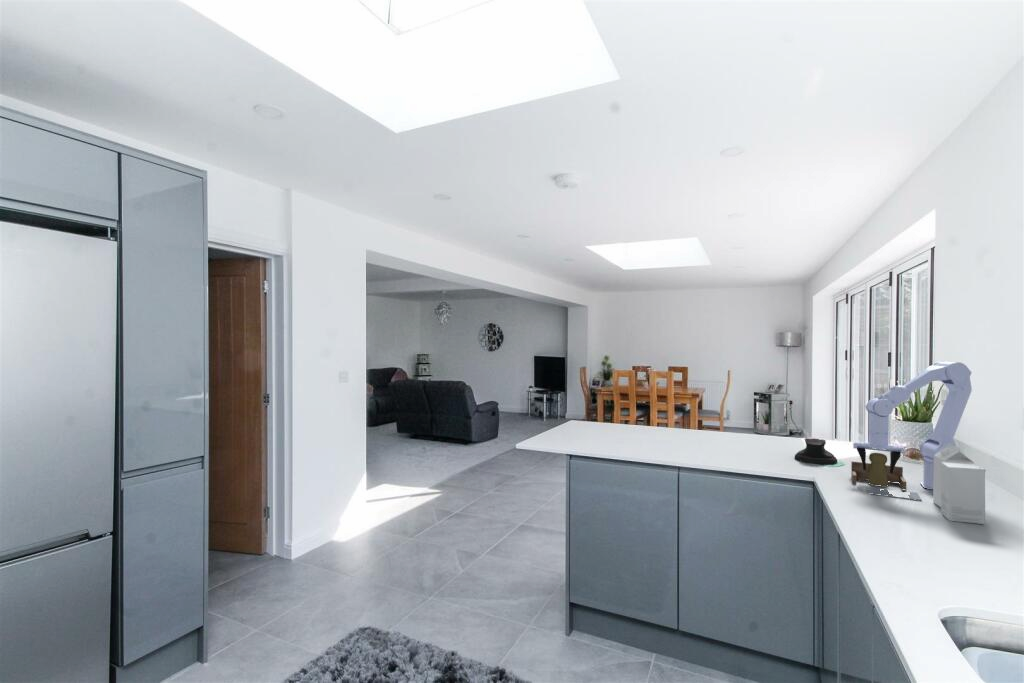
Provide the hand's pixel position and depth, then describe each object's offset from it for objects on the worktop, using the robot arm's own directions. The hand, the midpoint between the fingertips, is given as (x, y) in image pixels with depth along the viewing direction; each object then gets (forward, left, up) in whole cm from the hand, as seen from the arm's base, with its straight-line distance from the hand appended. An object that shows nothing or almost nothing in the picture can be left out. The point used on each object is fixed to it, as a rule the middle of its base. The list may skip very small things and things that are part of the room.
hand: (877, 470), depth 176 cm
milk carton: (-17, +18, -5) cm, 25 cm away
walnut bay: (0, -1, -5) cm, 5 cm away
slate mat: (-3, +11, -5) cm, 12 cm away
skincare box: (-17, +30, -5) cm, 35 cm away
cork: (0, 0, -5) cm, 5 cm away
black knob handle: (+19, -29, -5) cm, 35 cm away
